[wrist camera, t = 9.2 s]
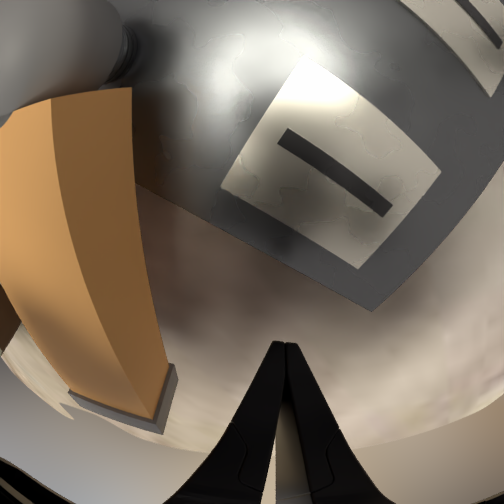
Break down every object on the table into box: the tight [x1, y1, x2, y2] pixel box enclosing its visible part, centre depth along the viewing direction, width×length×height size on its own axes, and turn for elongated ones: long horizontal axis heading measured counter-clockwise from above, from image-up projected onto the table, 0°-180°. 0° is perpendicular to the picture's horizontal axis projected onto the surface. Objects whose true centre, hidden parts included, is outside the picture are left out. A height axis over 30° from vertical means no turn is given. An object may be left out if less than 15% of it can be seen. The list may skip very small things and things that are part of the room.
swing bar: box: [0, 0, 178, 435], centre depth 7 cm, size 17×5×3 cm, turn 175°
